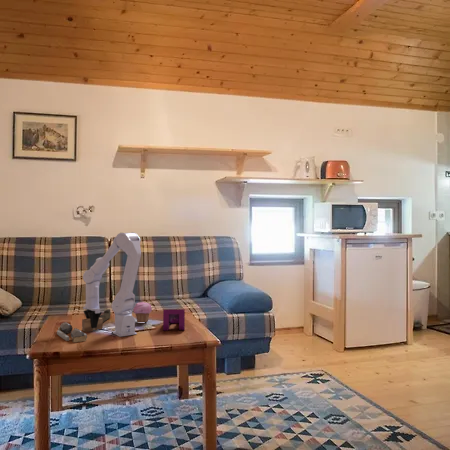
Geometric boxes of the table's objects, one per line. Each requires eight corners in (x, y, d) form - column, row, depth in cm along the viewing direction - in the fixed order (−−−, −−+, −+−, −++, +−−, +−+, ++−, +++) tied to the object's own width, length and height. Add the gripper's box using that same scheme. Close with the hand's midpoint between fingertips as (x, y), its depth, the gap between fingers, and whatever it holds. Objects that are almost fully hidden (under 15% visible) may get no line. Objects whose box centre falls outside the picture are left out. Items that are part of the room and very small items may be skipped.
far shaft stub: (73, 332, 200) (73, 323, 200) (62, 334, 197) (62, 325, 197) (69, 330, 205) (69, 321, 205) (58, 331, 202) (58, 322, 202)
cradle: (86, 338, 191) (86, 334, 191) (66, 341, 186) (66, 337, 186) (76, 331, 202) (76, 328, 202) (57, 334, 197) (57, 330, 197)
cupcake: (133, 321, 224) (133, 300, 224) (151, 320, 226) (151, 300, 226) (133, 325, 215) (133, 303, 215) (152, 324, 217) (152, 303, 217)
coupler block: (102, 329, 206) (102, 318, 206) (85, 332, 201) (85, 320, 201) (99, 328, 209) (99, 316, 209) (82, 330, 205) (82, 319, 205)
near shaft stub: (86, 340, 186) (86, 331, 186) (73, 342, 183) (73, 332, 183) (81, 337, 191) (81, 328, 191) (69, 339, 188) (69, 329, 188)
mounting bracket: (164, 337, 216) (162, 328, 200) (165, 319, 220) (163, 309, 204) (184, 336, 217) (184, 328, 201) (184, 319, 221) (184, 309, 205)
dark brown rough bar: (102, 325, 215) (102, 315, 215) (94, 325, 215) (94, 315, 215) (115, 317, 234) (115, 308, 234) (107, 317, 234) (107, 308, 234)
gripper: (78, 295, 209) (78, 325, 209) (88, 299, 197) (88, 331, 197) (93, 294, 213) (93, 323, 213) (104, 298, 201) (104, 328, 201)
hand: (92, 326), depth 205 cm, fingers closed on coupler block, 4 cm apart
